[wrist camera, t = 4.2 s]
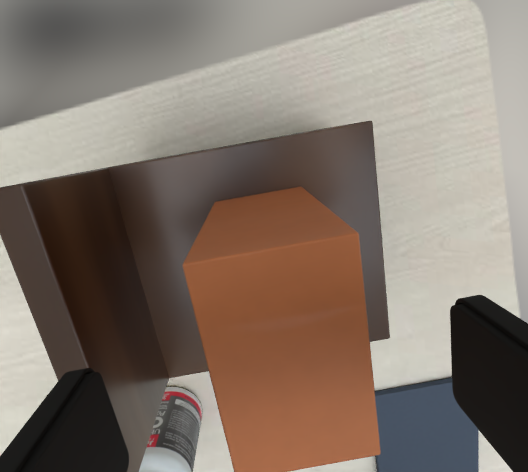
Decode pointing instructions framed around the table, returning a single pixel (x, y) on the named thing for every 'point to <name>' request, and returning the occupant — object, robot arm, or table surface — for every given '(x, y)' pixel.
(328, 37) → the table surface
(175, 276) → the brown corner piece
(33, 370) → the table surface
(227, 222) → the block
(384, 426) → the mat
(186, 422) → the pill bottle
